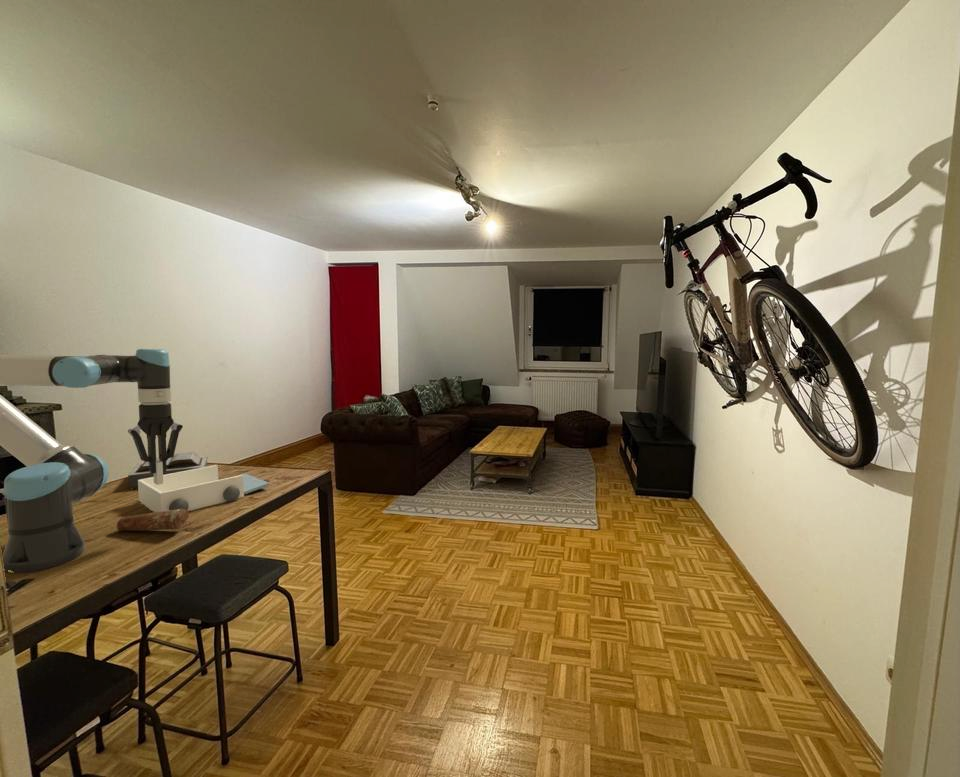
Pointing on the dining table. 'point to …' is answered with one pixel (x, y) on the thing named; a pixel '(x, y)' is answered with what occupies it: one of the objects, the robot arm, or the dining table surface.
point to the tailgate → (252, 483)
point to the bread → (154, 521)
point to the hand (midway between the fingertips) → (158, 483)
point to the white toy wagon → (190, 490)
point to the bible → (168, 466)
